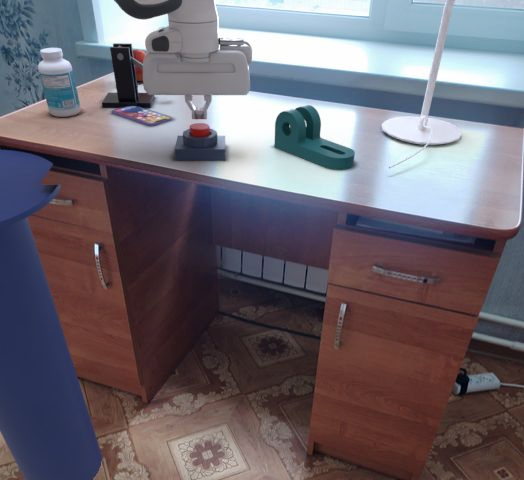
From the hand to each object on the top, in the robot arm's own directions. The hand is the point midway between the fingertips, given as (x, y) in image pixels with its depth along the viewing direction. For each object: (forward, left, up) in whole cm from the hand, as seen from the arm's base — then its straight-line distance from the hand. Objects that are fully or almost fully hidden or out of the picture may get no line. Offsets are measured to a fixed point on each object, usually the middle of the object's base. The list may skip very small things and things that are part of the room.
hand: (199, 118), depth 100 cm
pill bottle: (-34, +26, -7) cm, 43 cm away
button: (0, 0, -3) cm, 3 cm away
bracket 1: (-20, +35, -7) cm, 41 cm away
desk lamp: (+48, +4, -7) cm, 49 cm away
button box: (0, 0, -7) cm, 7 cm away
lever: (-16, +35, 0) cm, 39 cm away
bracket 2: (+24, -1, -7) cm, 25 cm away
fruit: (-20, +56, -7) cm, 60 cm away
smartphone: (-16, +24, -7) cm, 30 cm away
